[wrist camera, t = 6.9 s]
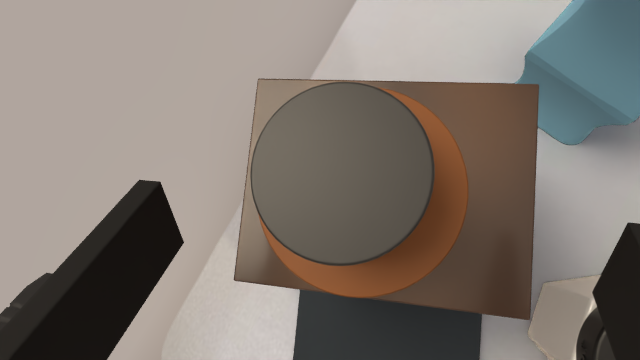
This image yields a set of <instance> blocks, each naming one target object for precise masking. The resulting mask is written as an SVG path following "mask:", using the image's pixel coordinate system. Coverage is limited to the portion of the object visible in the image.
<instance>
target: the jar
mask: <svg viewBox="0 0 640 360" xmlns="http://www.w3.org/2000/svg"><path fill="white" fill-rule="evenodd" d="M600 276H601V275H594V276H588V277H581V278H574V279H567V280H561V281H554V282H547V283H544V284H543V286H542V289H541V292H540V295H539V299H538V302H537V305H536V308H535V311H534V314H533V317H532V321H531V324H530V327H529V330H528V337H529V338H530V339H531V340H532V341H533V342H534V343H535V344H536V346H537V347H538V348H539V349H540V350H541V351H542V352H543V353H544V354H545V356H546V357H547V358H548V359H549V360H616V359H615V356H614V354H613V351H612V348H611V345H610V342H609V339H608V336H607V334H606V331H605V328H604V325H603V322H602V319H601V317H600V314H599V311H598V308H597V305H596V302H595V299H594V297H593V294H592V291H593V289H594V287H595V285H596V284H597V282H598V280H599V278H600Z"/></svg>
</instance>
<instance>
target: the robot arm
mask: <svg viewBox="0 0 640 360" xmlns="http://www.w3.org/2000/svg"><path fill="white" fill-rule="evenodd" d="M183 243H184V242H183V239H182V236H181V234H180V231H179V229H178V226H177V223H176V221H175V218H174V216H173V213H172V211H171V208H170V205H169V203H168V200H167V198H166V195H165V193H164V190H163V188H162V185H161V182H156V181H145V180H139V181H138V182H137V183H136V184H135V185H134V186H133V187H132V188H131V189H130V191H129V192H128V193H127V194H126V195H125V196H124V197H123V198H122V199H121V200H120V201H119V202H118V204H117V205H116V206H115V207H114V208H113V209H112V210H111V211H110V212H109V213H108V214H107V215H106V217H105V218H104V219H103V220H102V221H101V222H100V223H99V224H98V225H97V226H96V227H95V229H94V230H93V231H92V232H91V233H90V234H89V235H88V236H87V237H86V238H85V239H84V241H83V242H82V243H81V244H80V245H79V246H78V247H77V248H76V249H75V250H74V251H73V252H72V254H71V255H70V256H69V257H68V258H67V259H66V260H65V261H64V262H63V263H62V264H61V265H60V266H59V268H58V269H57V270H56V271H55V272H54V273H53V274H50V273H46V274H44V275H43V276H41V277H40V278H38V279H37V280H35V281H34V282H33V283H31V284H30V285H28V286H27V287H26V288H25V289H24V290H23V291H22V292H21V293H20V294H19V295H18V296H17V297H16V298H15V299H14V300H13V301H12V302H11V303H10V307H7V308H6V309H5V310H4V311H3V312H2V313H1V314H0V360H107V358H108V357H109V355H110V354H111V353H112V351H113V350H114V348H115V346H116V345H117V343H118V342H119V340H120V339H121V337H122V336H123V334H124V332H125V331H126V330H127V328H128V327H129V325H130V324H131V322H132V321H133V319H134V318H135V316H136V315H137V313H138V311H139V310H140V308H141V307H142V305H143V304H144V302H145V301H146V299H147V298H148V296H149V295H150V293H151V292H152V290H153V289H154V287H155V286H156V284H157V283H158V281H159V280H160V278H161V277H162V275H163V274H164V272H165V270H166V269H167V267H168V266H169V264H170V263H171V261H172V259H173V258H174V257H175V255H176V254H177V252H178V251H179V249H180V248H181V246H182V244H183ZM592 294H593V297H594V299H595V302H596V305H597V308H598V311H599V314H600V317H601V319H602V322H603V325H604V328H605V331H606V334H607V336H608V339H609V342H610V345H611V348H612V351H613V354H614V356H615V359H616V360H640V224H637V223H628V224H627V226H626V227H625V229H624V231H623V233H622V235H621V237H620V239H619V241H618V243H617V245H616V247H615V249H614V251H613V253H612V255H611V256H610V258H609V260H608V262H607V264H606V266H605V268H604V270H603V272H602V274H601V276H600V278H599V280H598V282H597V284H596V285H595V287H594V289H593V291H592Z"/></svg>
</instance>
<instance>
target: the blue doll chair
mask: <svg viewBox="0 0 640 360" xmlns="http://www.w3.org/2000/svg"><path fill="white" fill-rule="evenodd" d="M514 84H539V103H538V127H539V128H541V129H542V130H544V131H545V132H546V133H548V134H549V135H551V136H552V137H553V138H555V139H557V140H558V141H560V142H562V143H564V144H567V145H575V144H579V143H581V142H582V141H583V140H584V139H585V138H586V137H587V136H588V135H589V134H590V133H591V132H592V131H593V130H594V129H595V128H596V127H600V126H605V125H628V124H630V123H632V122H634V121H635V120H636V119H637V118H638V117H639V116H640V0H573V1H572V2H571V3H570V4H569V5H568V6H567V8H566V9H565V10H564V11H563V12H562V13H561V14H560V16H559V17H558V18H557V19H556V20H555V21H554V22H553V23H552V25H551V26H550V27H549V28H548V29H547V30H546V31H545V32H544V34H543V35H542V36H541V37H540V38H539V39H538V40H537V41H536V43H535V44H534V45H533V46H532V47H531V48H530V49H529V51H528V52H527V54H526V55H525V67H524V72H523V75H522V77H521V78H520V79H519V80H518V81H517V82H516V83H514Z"/></svg>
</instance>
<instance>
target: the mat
mask: <svg viewBox="0 0 640 360" xmlns="http://www.w3.org/2000/svg"><path fill="white" fill-rule="evenodd" d="M481 316H482V314H479V313H472V312H464V311H457V310H450V309H442V308H435V307H427V306H420V305H412V304H405V303H397V302H390V301H382V300H375V299H368V298H353V297H344V296H339V295H334V294H330V293H323V292H315V291H308V290H300V297H299V307H298V316H297V326H296V336H295V346H294V356H293V360H479V355H480V335H481Z"/></svg>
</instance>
